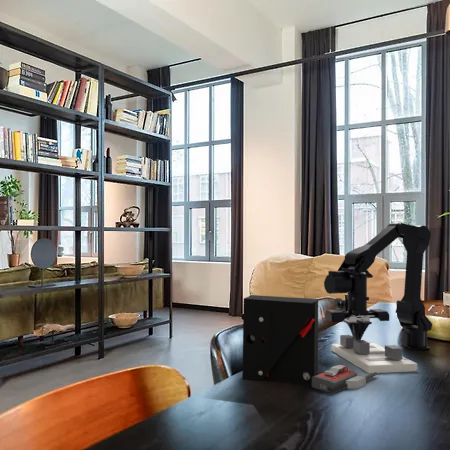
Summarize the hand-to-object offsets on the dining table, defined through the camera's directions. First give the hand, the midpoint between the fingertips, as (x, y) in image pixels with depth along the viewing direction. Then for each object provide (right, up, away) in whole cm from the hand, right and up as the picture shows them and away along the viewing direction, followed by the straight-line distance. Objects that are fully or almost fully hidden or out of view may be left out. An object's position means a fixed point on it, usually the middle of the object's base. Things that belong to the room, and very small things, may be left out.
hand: (356, 343), depth 140 cm
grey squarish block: (+6, -1, -13) cm, 15 cm away
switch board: (+2, -3, -7) cm, 8 cm away
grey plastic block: (-3, -1, 0) cm, 3 cm away
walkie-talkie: (-11, -3, -28) cm, 30 cm away
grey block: (-1, -1, -7) cm, 7 cm away
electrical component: (-26, -2, -25) cm, 36 cm away
